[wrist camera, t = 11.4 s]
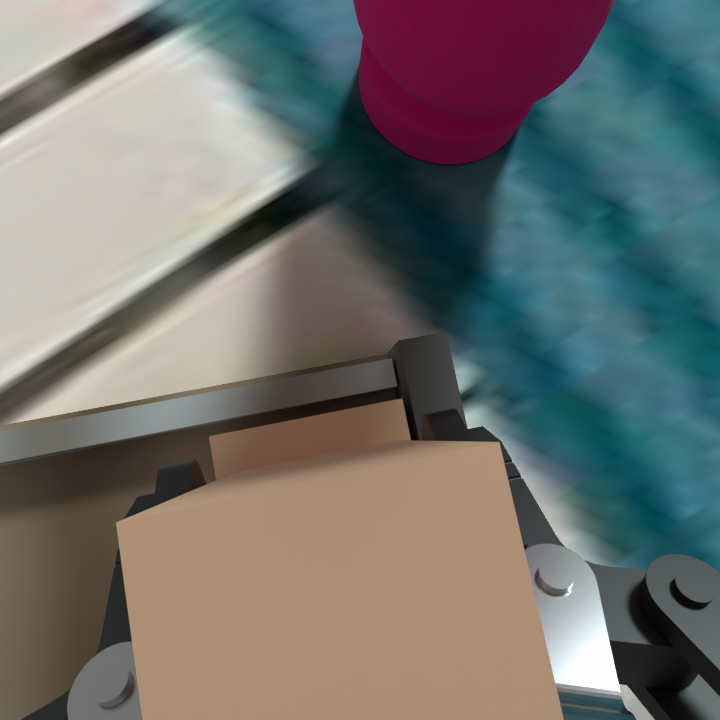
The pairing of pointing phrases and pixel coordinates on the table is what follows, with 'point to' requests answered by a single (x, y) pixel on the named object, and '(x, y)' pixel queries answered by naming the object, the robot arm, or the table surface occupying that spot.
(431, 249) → the table surface
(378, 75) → the pepper mill
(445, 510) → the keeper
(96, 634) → the track
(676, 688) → the robot arm
